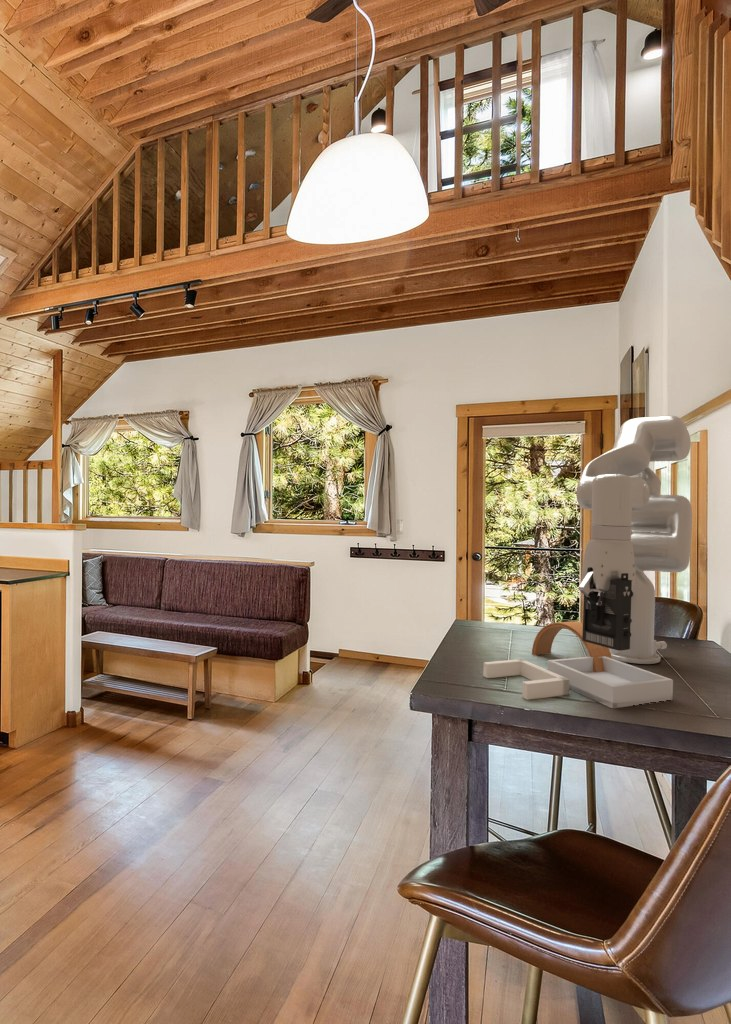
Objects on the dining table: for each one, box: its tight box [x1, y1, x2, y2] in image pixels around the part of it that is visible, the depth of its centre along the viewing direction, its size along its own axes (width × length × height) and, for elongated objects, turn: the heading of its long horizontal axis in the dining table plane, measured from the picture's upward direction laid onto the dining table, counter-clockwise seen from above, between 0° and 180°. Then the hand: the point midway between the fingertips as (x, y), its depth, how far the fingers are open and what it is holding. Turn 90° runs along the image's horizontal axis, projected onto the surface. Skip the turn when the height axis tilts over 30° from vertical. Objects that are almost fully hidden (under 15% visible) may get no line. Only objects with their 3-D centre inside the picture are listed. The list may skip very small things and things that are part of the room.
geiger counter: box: [581, 573, 632, 651], centre depth 110 cm, size 10×5×15 cm, turn 28°
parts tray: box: [546, 655, 674, 710], centre depth 110 cm, size 15×18×4 cm
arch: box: [531, 620, 612, 672], centre depth 128 cm, size 6×20×10 cm, turn 25°
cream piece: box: [482, 658, 570, 701], centre depth 111 cm, size 10×15×3 cm, turn 21°
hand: (608, 622), depth 110 cm, fingers closed on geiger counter, 5 cm apart
